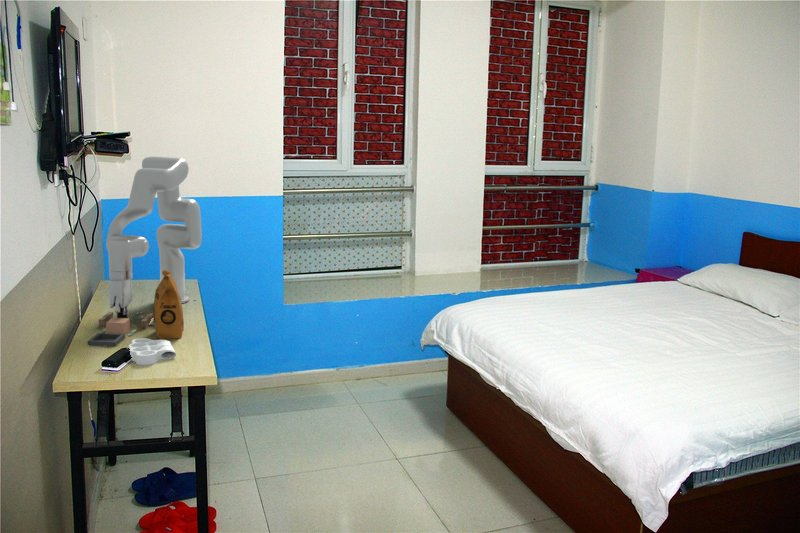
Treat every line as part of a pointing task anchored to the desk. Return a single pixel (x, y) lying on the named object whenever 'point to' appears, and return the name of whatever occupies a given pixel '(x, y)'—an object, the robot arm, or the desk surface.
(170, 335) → the coffee package
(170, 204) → the robot arm
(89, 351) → the desk surface
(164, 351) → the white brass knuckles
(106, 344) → the grey shallow tray
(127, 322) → the push block
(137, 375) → the desk surface
